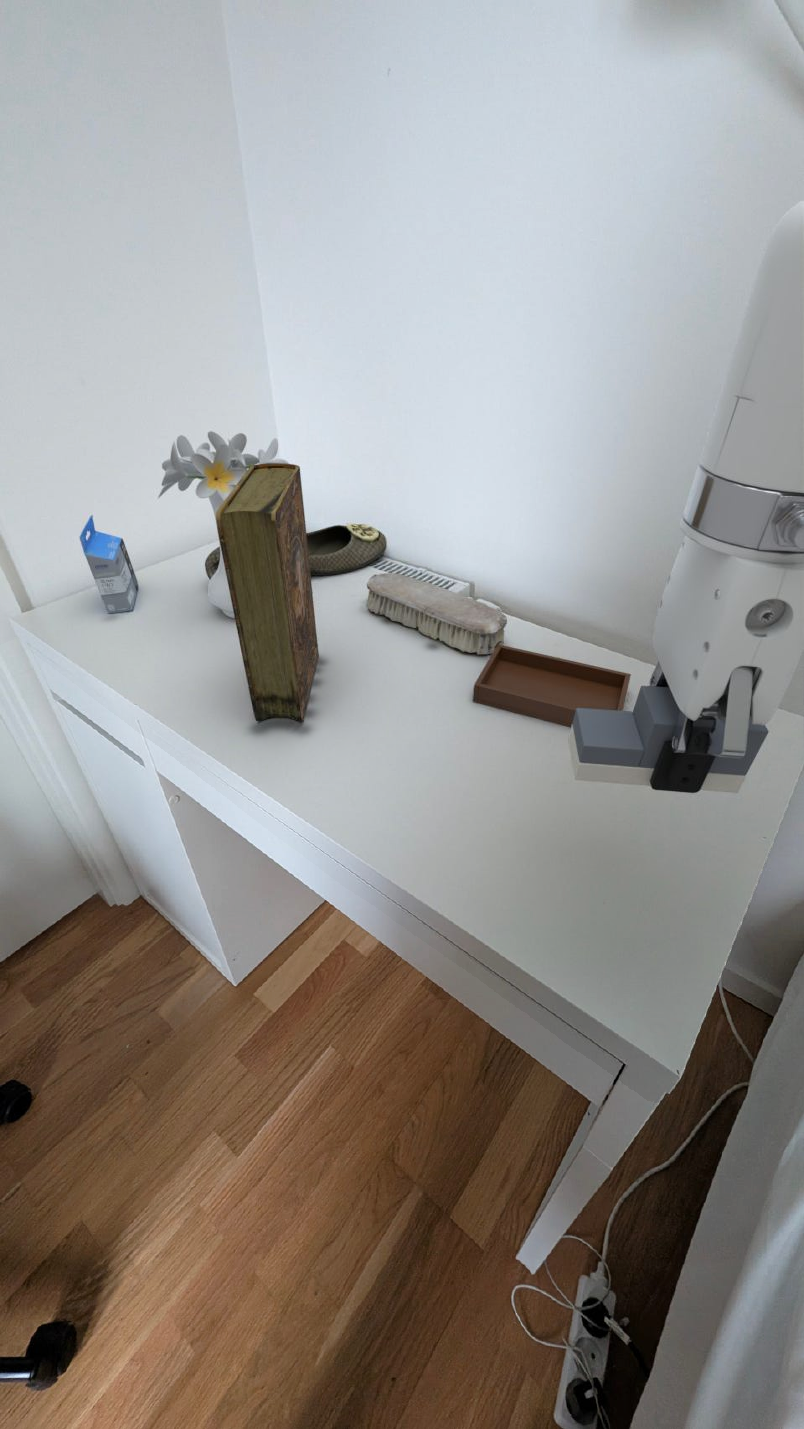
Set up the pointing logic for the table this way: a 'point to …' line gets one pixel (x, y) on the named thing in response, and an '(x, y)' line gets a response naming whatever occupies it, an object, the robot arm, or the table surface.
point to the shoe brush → (437, 612)
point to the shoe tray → (547, 685)
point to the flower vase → (214, 485)
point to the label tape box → (110, 568)
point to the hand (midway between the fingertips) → (665, 760)
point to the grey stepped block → (646, 743)
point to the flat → (332, 549)
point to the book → (271, 587)
